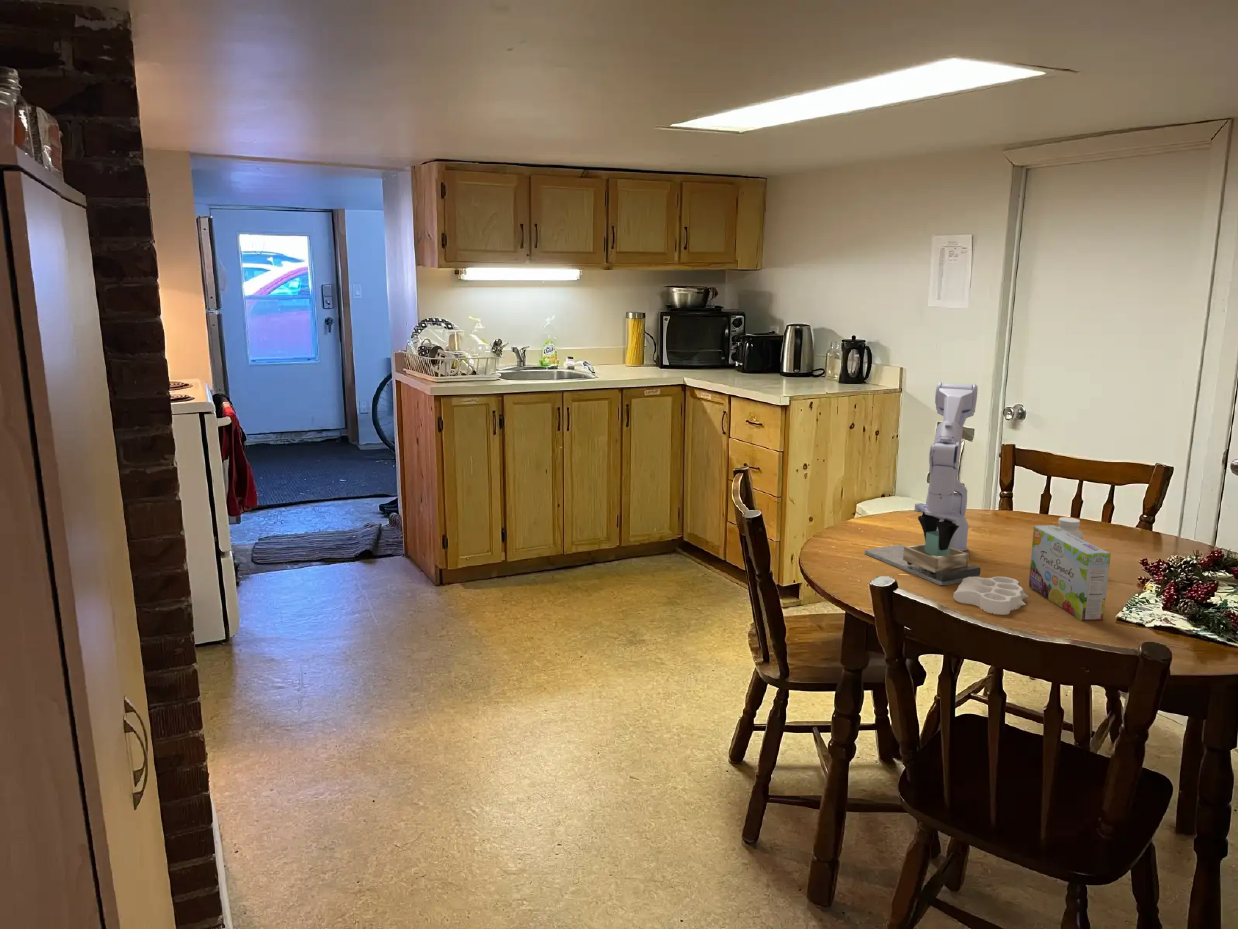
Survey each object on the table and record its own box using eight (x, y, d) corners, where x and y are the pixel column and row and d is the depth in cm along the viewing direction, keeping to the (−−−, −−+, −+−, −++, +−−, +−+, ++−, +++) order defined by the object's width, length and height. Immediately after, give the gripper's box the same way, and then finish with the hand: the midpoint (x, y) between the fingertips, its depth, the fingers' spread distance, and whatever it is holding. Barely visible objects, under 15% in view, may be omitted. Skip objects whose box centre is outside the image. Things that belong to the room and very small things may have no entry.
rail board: (900, 548, 233) (900, 537, 232) (979, 579, 209) (980, 567, 208) (864, 553, 228) (865, 542, 227) (941, 586, 204) (942, 574, 203)
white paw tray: (964, 583, 207) (1032, 595, 200) (949, 607, 192) (1022, 620, 185) (966, 570, 207) (1034, 581, 199) (951, 592, 191) (1023, 605, 184)
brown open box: (935, 558, 221) (936, 542, 220) (967, 570, 211) (969, 553, 210) (902, 563, 216) (903, 547, 215) (934, 576, 207) (935, 559, 206)
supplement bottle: (1082, 575, 213) (1088, 524, 210) (1052, 573, 214) (1058, 522, 211) (1074, 566, 219) (1079, 516, 217) (1045, 564, 221) (1051, 515, 218)
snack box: (1025, 587, 204) (1032, 524, 201) (1048, 586, 205) (1055, 524, 202) (1079, 621, 184) (1088, 553, 181) (1105, 621, 184) (1114, 552, 181)
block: (936, 549, 216) (938, 530, 215) (949, 554, 212) (951, 534, 211) (924, 551, 214) (926, 532, 213) (936, 556, 211) (938, 536, 210)
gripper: (906, 487, 215) (902, 540, 218) (951, 501, 202) (946, 557, 205) (928, 485, 218) (924, 537, 221) (974, 498, 205) (968, 553, 208)
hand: (936, 546), depth 213 cm, fingers closed on block, 4 cm apart
